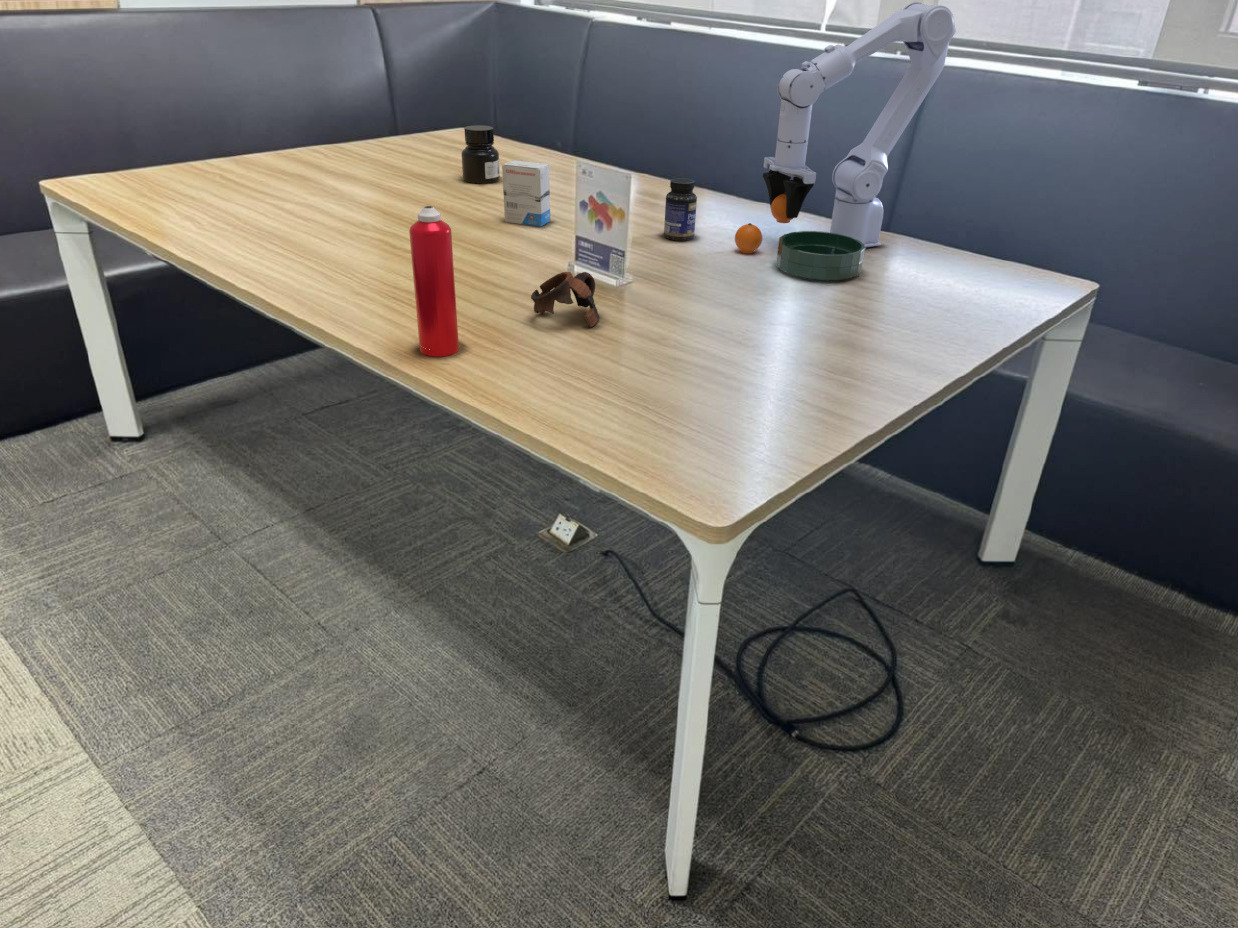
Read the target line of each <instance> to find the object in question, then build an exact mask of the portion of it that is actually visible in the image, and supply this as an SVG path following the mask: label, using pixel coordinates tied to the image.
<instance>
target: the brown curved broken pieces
mask: <svg viewBox="0 0 1238 928" xmlns="http://www.w3.org/2000/svg"><path fill="white" fill-rule="evenodd" d="M539 288H540V290H541V292H539V290H538V289H535V290H534V291H533V292H532V293H531V294H530V299H531V300H532V302H533V312H534V313H536V314H540V315H545V313H546V312H547V313H550V314H552V315H554V314H555V313H554V307H555V301H556V302H557V303H559V304H565V305H572V304H574V300H573V299H572V294H573V296H574V298H575V300H576V304H577V306H578V307H582V308H588V307H589V310H588V311H587V313H585V314H584V318H585V320H586V321H587V325H588V327H589V328H590V329H591V328H592V327H594V326H595V325H596V324H597V322H598V321H599V319H600V315H599V311H598V308H597V307H596V306H597V305H596V303H595V300H594V299H595V298H594V294H595V291H596V281H595V279H594V277H593V276H592V274H590V273H589V272H586V271H582V272H580V273H577V274H576V275H575V276H573V273H572V272H571V271H562V272H560V273H557V274H555V275H554V276H551V277H550V278H549V279H547V280H546V281H544V282H542V283H541V284H540V285H539ZM571 292H572V293H571Z"/></svg>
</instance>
